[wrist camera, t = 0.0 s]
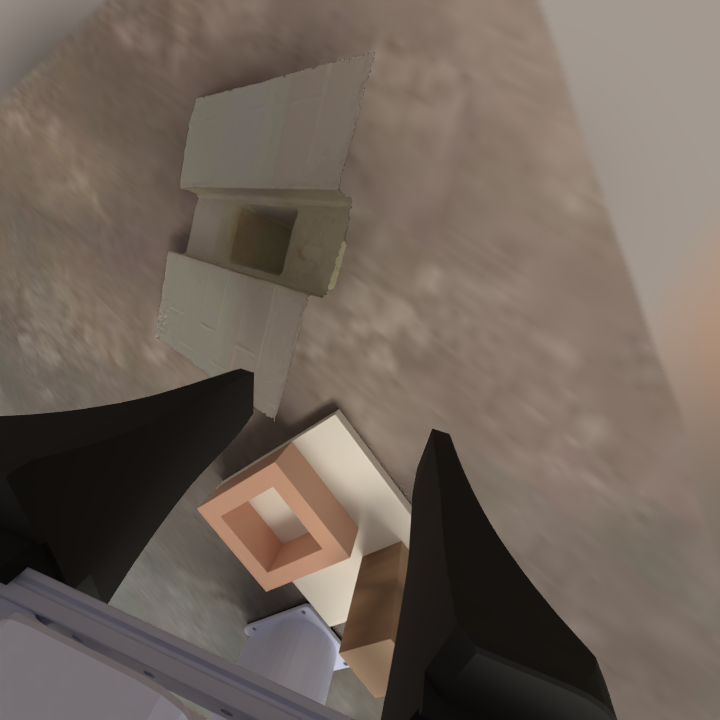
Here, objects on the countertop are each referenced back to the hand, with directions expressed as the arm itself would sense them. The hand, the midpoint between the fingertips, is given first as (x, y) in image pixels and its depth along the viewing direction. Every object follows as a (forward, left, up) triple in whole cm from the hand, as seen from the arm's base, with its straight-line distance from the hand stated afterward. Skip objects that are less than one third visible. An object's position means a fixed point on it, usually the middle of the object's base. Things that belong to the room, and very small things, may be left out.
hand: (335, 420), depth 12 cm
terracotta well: (-14, -6, -10) cm, 18 cm away
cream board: (-12, -10, -11) cm, 19 cm away
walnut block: (-9, -15, -10) cm, 20 cm away
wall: (-2, +11, -11) cm, 15 cm away
